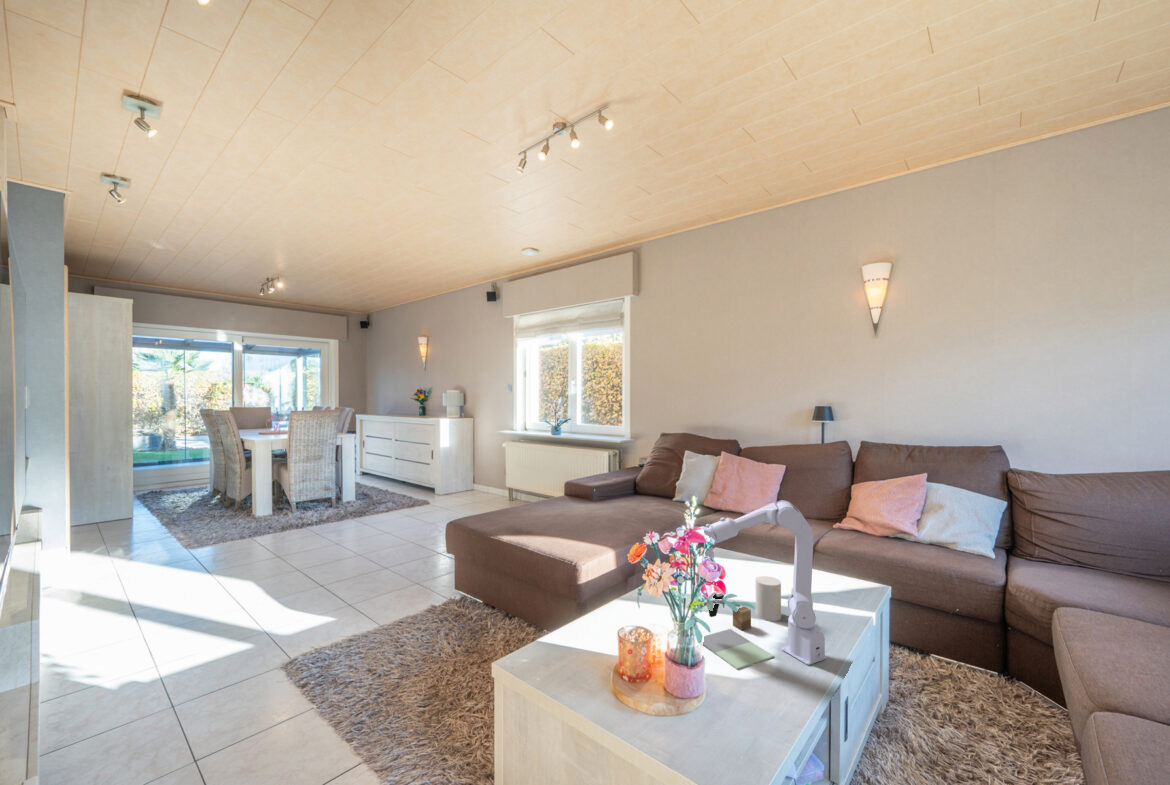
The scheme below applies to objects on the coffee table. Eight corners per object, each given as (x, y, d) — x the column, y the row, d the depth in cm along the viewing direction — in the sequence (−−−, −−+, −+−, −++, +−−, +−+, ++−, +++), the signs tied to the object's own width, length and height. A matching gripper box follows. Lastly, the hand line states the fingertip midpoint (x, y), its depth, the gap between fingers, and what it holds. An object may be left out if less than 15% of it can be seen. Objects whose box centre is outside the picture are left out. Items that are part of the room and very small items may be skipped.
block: (750, 628, 157) (750, 609, 157) (741, 630, 155) (741, 612, 155) (742, 623, 160) (741, 605, 160) (732, 625, 159) (732, 607, 159)
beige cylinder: (777, 623, 160) (776, 587, 160) (752, 616, 165) (752, 581, 165) (783, 614, 166) (783, 579, 166) (760, 608, 171) (759, 574, 171)
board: (774, 657, 139) (774, 655, 139) (737, 669, 133) (737, 668, 133) (730, 630, 156) (730, 628, 156) (695, 639, 149) (695, 638, 149)
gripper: (679, 561, 153) (679, 604, 153) (709, 577, 140) (710, 623, 140) (697, 558, 156) (697, 600, 156) (728, 573, 143) (728, 618, 143)
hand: (704, 610), depth 149 cm, fingers open, 7 cm apart
